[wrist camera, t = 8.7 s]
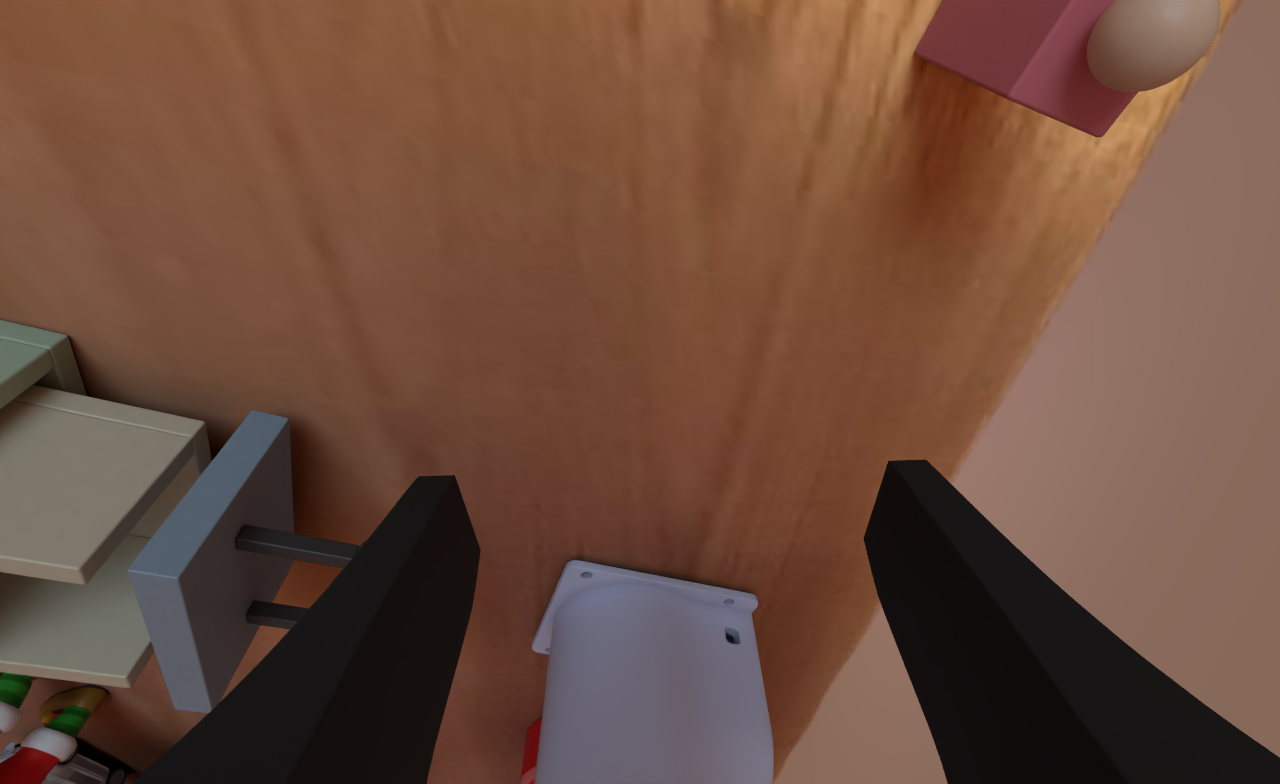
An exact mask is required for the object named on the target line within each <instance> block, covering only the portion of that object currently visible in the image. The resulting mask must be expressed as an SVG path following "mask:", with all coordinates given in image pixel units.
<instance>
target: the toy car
mask: <svg viewBox="0 0 1280 784" xmlns="http://www.w3.org/2000/svg"><path fill="white" fill-rule="evenodd" d="M76 743H77V742H76ZM15 745H16V742H15V743H11V744H8V745H7V747H6V749H5V750H4V752H3V753H4V754H2V755H1V756H0V763H1V762H2V761H4V760H6V759H8V758H9V757H11V756H13V755H14V754H15V753H17V752H18V751H19V750H20V749H21V748H22V747H21V743H20V744H17V745H16V746H15ZM6 751H7V752H6ZM77 751H78V743H77V747H76V749H75V750H74V751H73V752H72V754H71V755H70V756H69V757H68V758H67V759H66V760H64V761H62V762H59V763H58V764H57V765H56V766H55V767H54V768H53V769H52V770H51V771H50V772H49V773H48V775H47V776H46V778H45V779H44V781H43V782H42V783H41V784H127V783H128V781H127V780H125V778H126V770H125V769H124V768H122V767H119V768H112V769H110V770H109V769H108V768H107V767H105V766H103V765H101V764H99V763H97V762H95V761H93V760H91V759H89V758H87V757H84V756H82V755H80V754H77Z"/></svg>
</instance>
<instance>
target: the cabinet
mask: <svg viewBox="0 0 1280 784" xmlns="http://www.w3.org/2000/svg"><path fill="white" fill-rule="evenodd" d="M31 385H37V386H42V387H46V388H51V389H56V390H60V391H65V392H70V393H74V394H79V395H84V396H87V394H86V391H85V388H84V385H83V382H82V379H81V375H80V372H79V369H78V366H77V363H76V360H75V357H74V353H73V350H72V347H71V344H70V341H69V338H68V336H67V335H65V334H61V333H56V332H52V331H48V330H43V329H39V328H35V327H30V326H26V325H22V324H17V323H13V322H9V321H4V320H0V409H1V408H3V407H4V406H5V405H7V404H8V403H9V402H11V401H12V400H13V399H14V398H16V397H17V396H18V395H20V394H21V393H22V392H24V391H25V390H26V389H27V388H29V387H30V386H31Z"/></svg>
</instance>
